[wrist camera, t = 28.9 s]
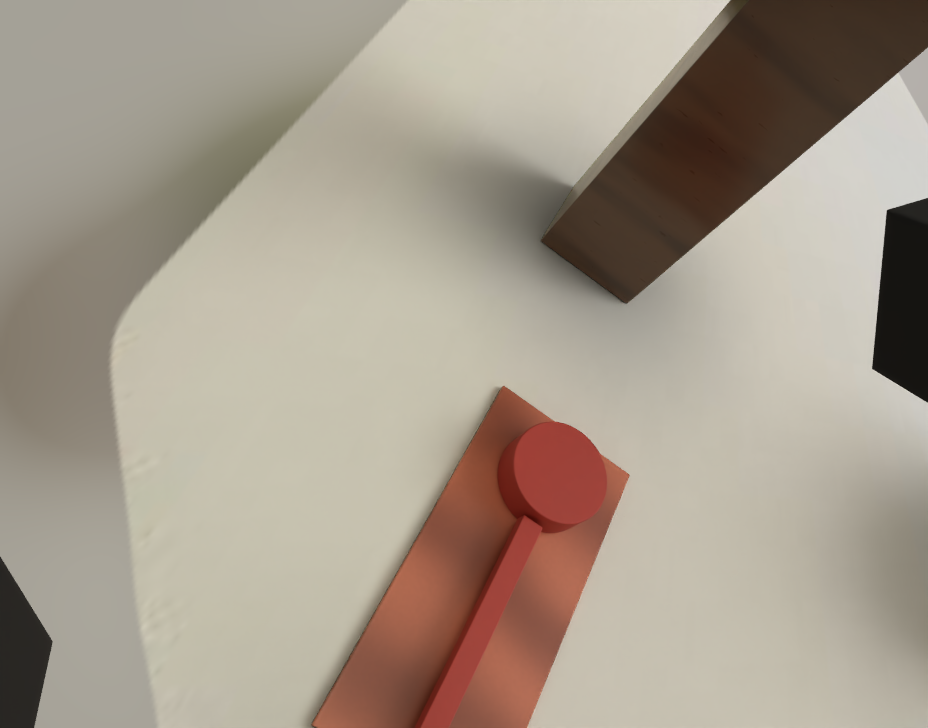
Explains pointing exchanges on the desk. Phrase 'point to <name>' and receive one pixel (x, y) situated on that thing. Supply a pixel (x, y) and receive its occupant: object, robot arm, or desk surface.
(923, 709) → the desk surface
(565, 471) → the red spoon
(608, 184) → the stand
